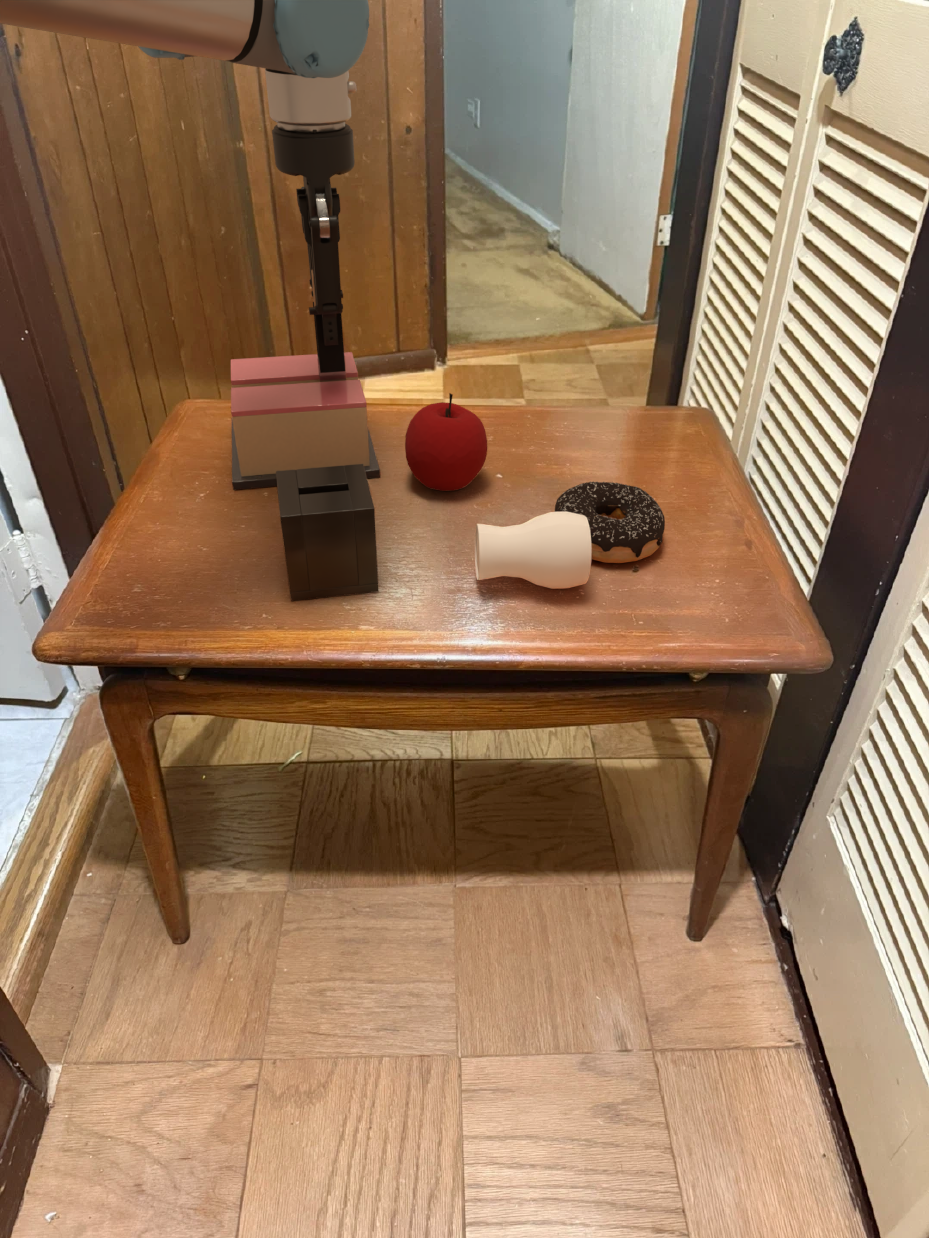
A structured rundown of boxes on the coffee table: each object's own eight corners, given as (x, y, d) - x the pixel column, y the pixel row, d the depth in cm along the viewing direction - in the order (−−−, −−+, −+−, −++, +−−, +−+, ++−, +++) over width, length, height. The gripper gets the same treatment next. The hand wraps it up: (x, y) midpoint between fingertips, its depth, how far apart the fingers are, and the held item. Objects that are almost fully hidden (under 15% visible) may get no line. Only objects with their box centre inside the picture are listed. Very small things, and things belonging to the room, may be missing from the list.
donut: (629, 500, 94) (634, 467, 91) (684, 560, 85) (691, 525, 82) (534, 515, 91) (537, 482, 88) (581, 579, 82) (586, 544, 80)
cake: (233, 490, 93) (220, 416, 88) (232, 424, 106) (221, 356, 100) (380, 477, 96) (377, 405, 91) (363, 415, 108) (359, 348, 103)
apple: (390, 472, 97) (387, 388, 91) (460, 454, 101) (462, 372, 95) (428, 510, 91) (428, 423, 85) (501, 490, 95) (506, 405, 88)
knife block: (291, 601, 78) (279, 516, 73) (286, 552, 84) (275, 470, 79) (378, 591, 80) (374, 508, 74) (368, 544, 86) (363, 463, 80)
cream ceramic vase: (478, 606, 78) (586, 603, 79) (480, 541, 74) (596, 538, 75) (472, 561, 84) (573, 559, 85) (474, 498, 80) (581, 496, 80)
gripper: (361, 138, 76) (374, 392, 90) (343, 109, 87) (357, 338, 102) (274, 140, 74) (301, 397, 89) (268, 110, 86) (293, 342, 101)
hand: (331, 365), depth 96 cm, fingers closed on knife, 2 cm apart
